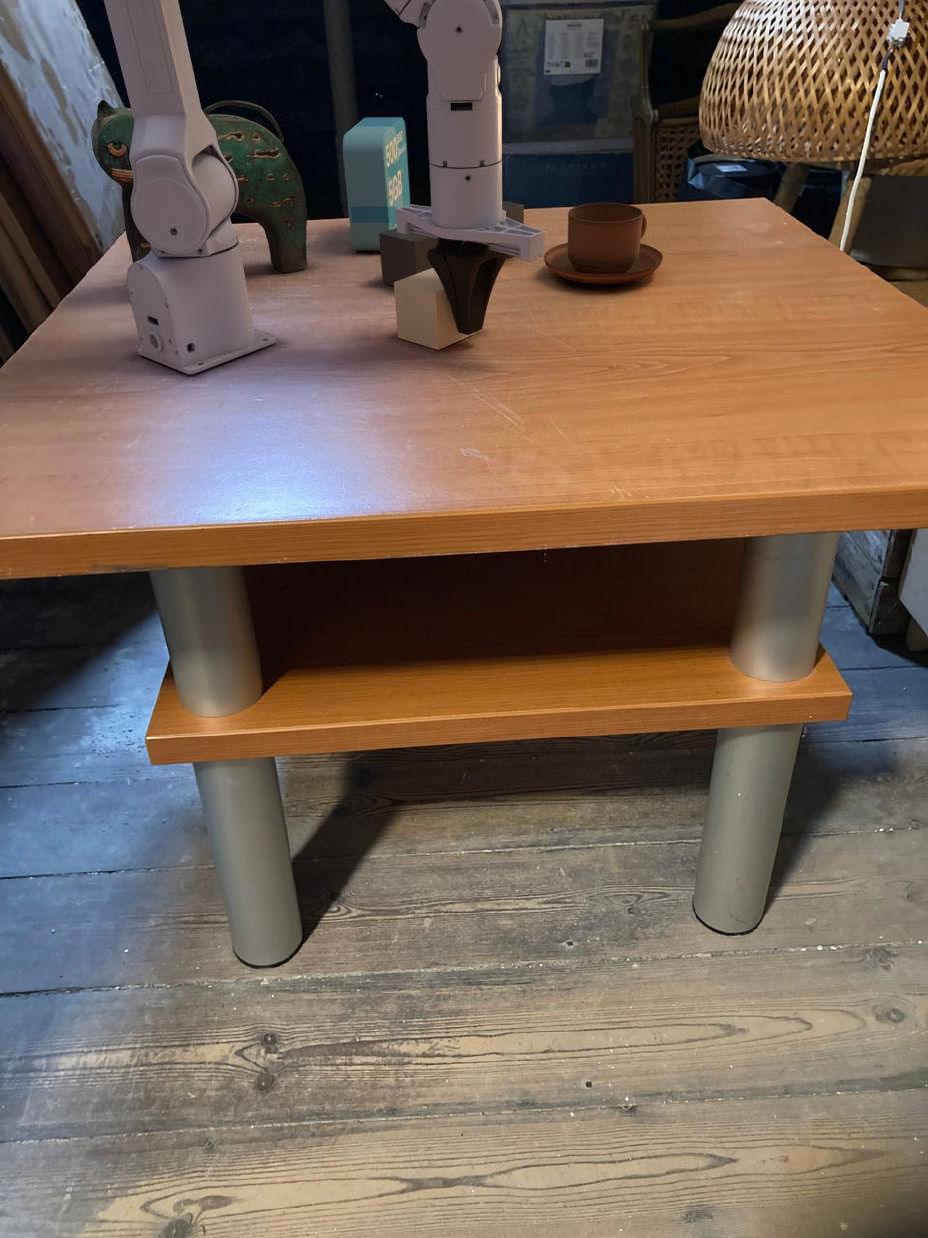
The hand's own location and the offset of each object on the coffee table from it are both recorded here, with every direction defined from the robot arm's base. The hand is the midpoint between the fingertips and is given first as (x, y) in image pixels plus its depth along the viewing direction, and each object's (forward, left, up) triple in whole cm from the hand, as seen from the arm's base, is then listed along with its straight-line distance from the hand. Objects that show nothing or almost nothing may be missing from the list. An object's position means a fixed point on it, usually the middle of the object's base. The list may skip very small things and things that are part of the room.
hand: (470, 330), depth 84 cm
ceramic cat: (-2, +33, -2) cm, 33 cm away
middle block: (+10, +16, -1) cm, 19 cm away
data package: (+19, +30, -2) cm, 36 cm away
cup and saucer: (+23, +2, -2) cm, 23 cm away
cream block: (0, +4, -1) cm, 4 cm away
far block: (+22, +16, -1) cm, 27 cm away
